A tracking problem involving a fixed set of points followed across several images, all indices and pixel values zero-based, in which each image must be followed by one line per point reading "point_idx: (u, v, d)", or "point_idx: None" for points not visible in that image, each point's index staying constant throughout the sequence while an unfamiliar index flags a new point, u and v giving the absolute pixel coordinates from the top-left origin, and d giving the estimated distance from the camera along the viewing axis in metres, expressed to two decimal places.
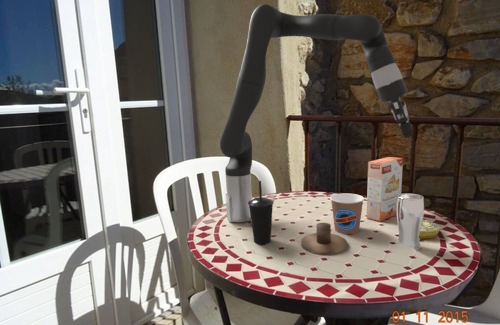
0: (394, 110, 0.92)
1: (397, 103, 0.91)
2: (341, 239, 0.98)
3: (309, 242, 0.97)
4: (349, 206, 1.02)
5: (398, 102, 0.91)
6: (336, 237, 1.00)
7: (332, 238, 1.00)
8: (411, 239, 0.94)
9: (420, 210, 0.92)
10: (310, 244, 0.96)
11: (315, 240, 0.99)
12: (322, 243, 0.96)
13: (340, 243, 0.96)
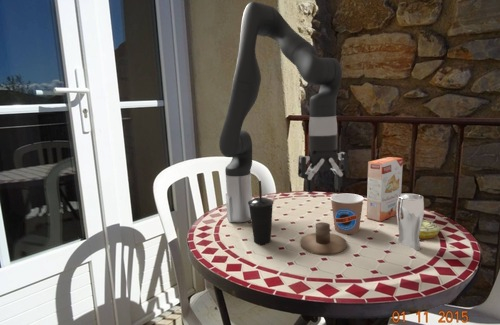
0: (298, 163, 0.93)
1: (301, 158, 0.91)
2: (340, 239, 0.98)
3: (308, 242, 0.97)
4: (349, 206, 1.02)
5: (301, 158, 0.91)
6: (336, 237, 1.00)
7: (331, 238, 0.99)
8: (411, 239, 0.94)
9: (420, 210, 0.92)
10: (310, 244, 0.96)
11: (314, 240, 0.99)
12: (321, 243, 0.96)
13: (339, 243, 0.96)
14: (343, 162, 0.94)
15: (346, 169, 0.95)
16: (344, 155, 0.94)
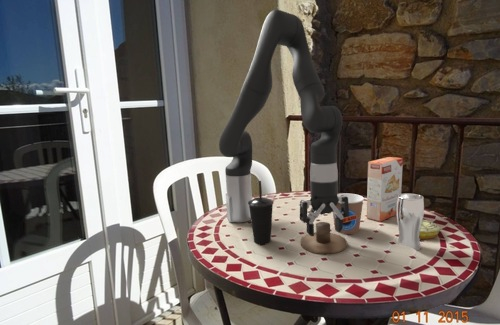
0: (300, 207, 0.95)
1: (302, 203, 0.93)
2: (341, 238, 0.99)
3: (308, 241, 0.98)
4: (349, 206, 1.02)
5: (303, 203, 0.93)
6: (336, 236, 1.00)
7: (332, 237, 1.00)
8: (411, 239, 0.94)
9: (420, 210, 0.92)
10: (310, 243, 0.96)
11: (315, 239, 0.99)
12: (321, 242, 0.96)
13: (339, 242, 0.96)
14: (344, 205, 0.97)
15: (347, 212, 0.97)
16: (344, 199, 0.96)
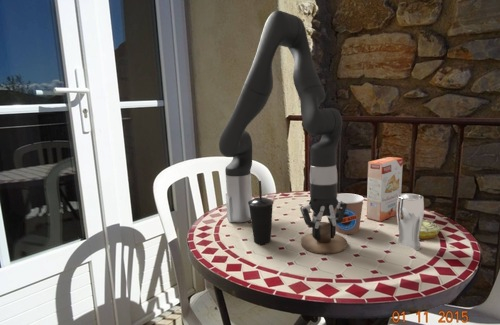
0: (302, 214, 0.96)
1: (302, 210, 0.94)
2: (341, 238, 0.99)
3: (309, 241, 0.98)
4: (349, 206, 1.02)
5: (303, 210, 0.94)
6: (336, 236, 1.00)
7: None
8: (411, 239, 0.94)
9: (420, 210, 0.92)
10: (310, 243, 0.96)
11: None
12: (322, 242, 0.96)
13: (340, 242, 0.96)
14: (340, 211, 0.97)
15: (339, 219, 0.96)
16: (343, 205, 0.96)
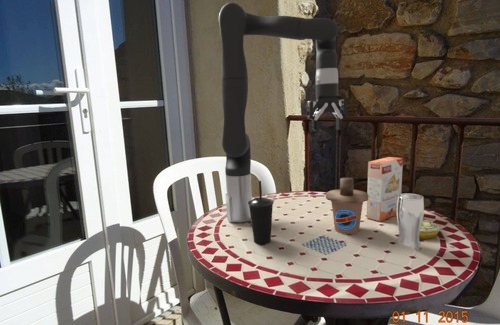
0: (307, 107, 1.15)
1: (309, 102, 1.14)
2: (362, 192, 1.07)
3: (333, 195, 1.06)
4: (349, 206, 1.02)
5: (309, 102, 1.14)
6: (357, 191, 1.09)
7: (354, 192, 1.08)
8: (411, 239, 0.94)
9: (420, 210, 0.92)
10: (335, 196, 1.05)
11: (338, 193, 1.07)
12: (346, 195, 1.05)
13: (362, 195, 1.05)
14: (343, 107, 1.17)
15: (345, 113, 1.17)
16: (344, 101, 1.16)
